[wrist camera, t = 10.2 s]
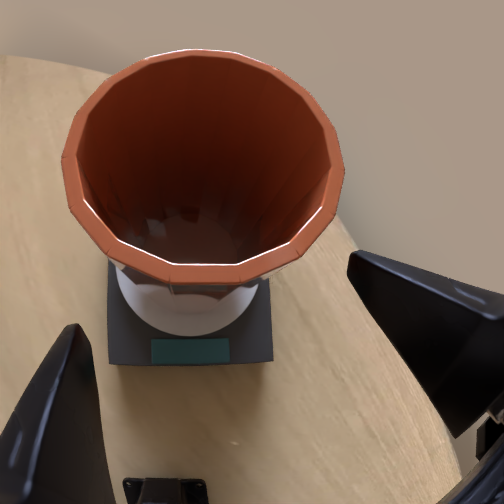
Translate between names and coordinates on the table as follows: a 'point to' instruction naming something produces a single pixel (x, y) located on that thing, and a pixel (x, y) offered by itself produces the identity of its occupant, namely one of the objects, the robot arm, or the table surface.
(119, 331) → the scale
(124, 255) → the tumbler
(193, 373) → the table surface
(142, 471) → the table surface
